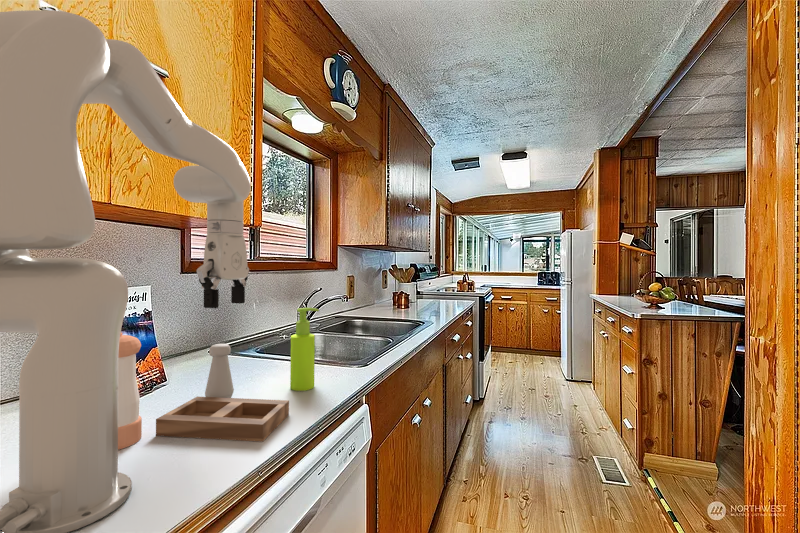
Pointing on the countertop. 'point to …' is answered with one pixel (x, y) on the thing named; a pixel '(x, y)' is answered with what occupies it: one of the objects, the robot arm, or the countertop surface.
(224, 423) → the caddy
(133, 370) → the pepper shaker
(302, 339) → the soap dispenser
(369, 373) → the countertop surface
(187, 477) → the countertop surface
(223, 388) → the salt shaker
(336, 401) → the countertop surface
